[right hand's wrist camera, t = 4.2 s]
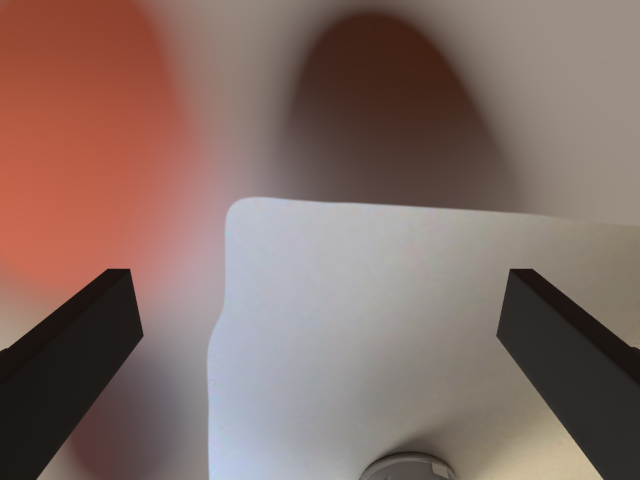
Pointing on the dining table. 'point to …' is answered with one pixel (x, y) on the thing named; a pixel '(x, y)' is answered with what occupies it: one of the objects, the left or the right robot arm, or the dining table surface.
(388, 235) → the dining table surface
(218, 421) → the dining table surface
